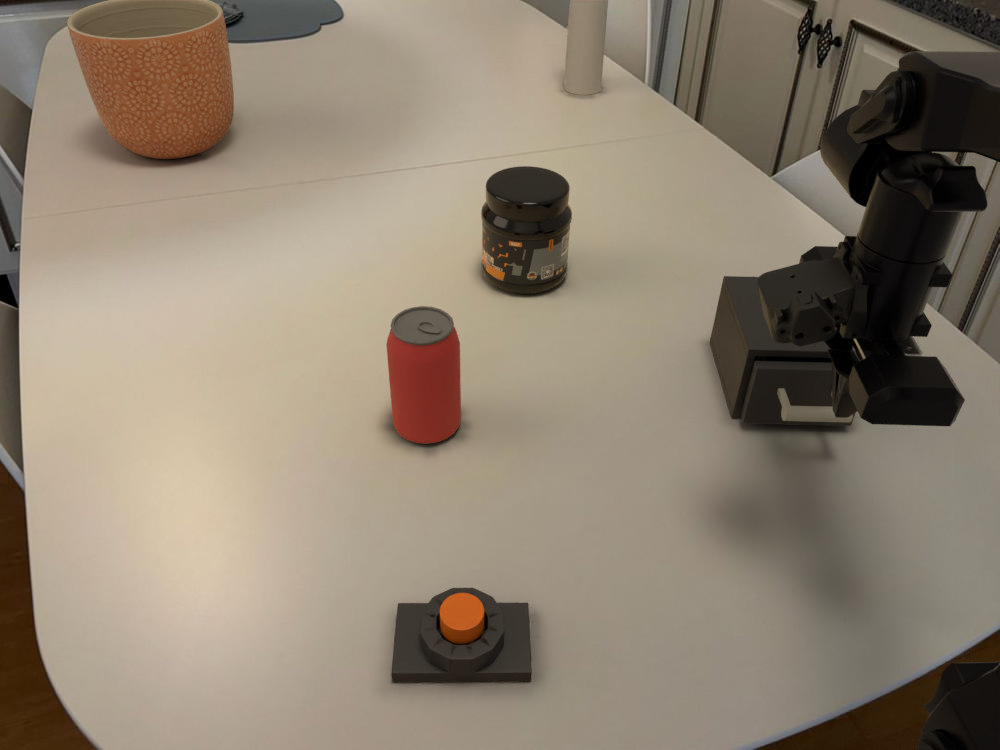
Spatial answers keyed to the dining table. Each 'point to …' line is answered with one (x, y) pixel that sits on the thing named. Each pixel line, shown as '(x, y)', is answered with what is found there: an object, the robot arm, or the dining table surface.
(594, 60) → the bottle
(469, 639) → the button
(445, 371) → the beer can
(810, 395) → the drawer
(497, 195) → the supplement container
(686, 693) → the dining table surface
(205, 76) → the planter
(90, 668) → the dining table surface
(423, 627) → the control block
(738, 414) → the small storage cabinet
